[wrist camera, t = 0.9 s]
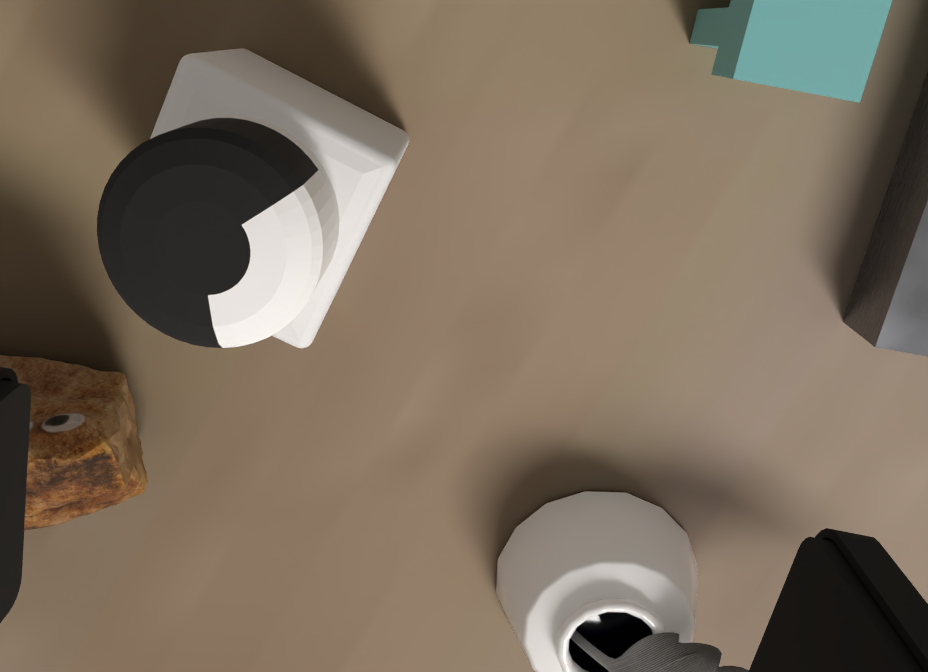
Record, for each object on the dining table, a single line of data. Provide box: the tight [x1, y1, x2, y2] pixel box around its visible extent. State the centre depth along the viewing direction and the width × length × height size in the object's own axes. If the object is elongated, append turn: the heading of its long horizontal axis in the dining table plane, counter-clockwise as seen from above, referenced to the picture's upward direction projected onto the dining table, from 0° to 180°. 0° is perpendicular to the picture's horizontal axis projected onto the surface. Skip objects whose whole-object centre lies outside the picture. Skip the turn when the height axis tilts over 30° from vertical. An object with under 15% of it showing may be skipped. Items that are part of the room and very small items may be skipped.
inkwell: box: [496, 491, 749, 672], centre depth 36 cm, size 9×18×10 cm, turn 76°
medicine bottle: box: [97, 48, 409, 348], centre depth 28 cm, size 7×7×12 cm
